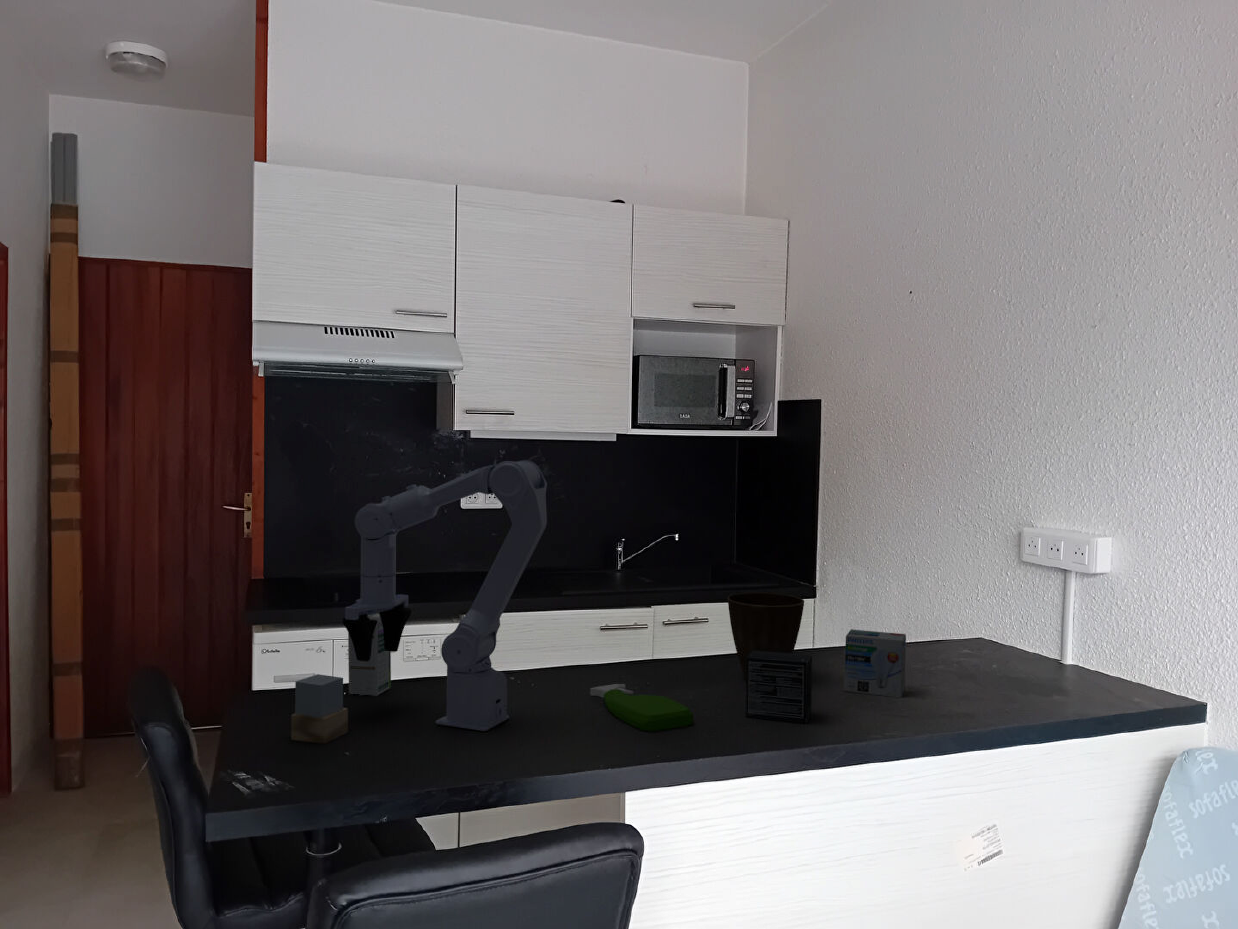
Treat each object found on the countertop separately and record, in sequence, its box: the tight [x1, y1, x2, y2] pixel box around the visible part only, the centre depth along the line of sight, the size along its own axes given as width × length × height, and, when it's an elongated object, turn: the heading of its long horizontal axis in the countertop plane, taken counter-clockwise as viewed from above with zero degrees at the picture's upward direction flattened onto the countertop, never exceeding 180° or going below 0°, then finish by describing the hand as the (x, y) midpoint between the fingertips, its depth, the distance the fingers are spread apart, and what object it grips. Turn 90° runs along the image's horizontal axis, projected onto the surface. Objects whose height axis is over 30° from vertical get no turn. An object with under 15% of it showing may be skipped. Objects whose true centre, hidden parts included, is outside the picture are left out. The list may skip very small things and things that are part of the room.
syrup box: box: [347, 613, 392, 697], centre depth 169 cm, size 6×6×14 cm
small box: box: [745, 651, 813, 724], centre depth 158 cm, size 11×6×10 cm, turn 71°
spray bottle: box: [589, 683, 694, 733], centre depth 160 cm, size 3×11×24 cm
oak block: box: [290, 707, 349, 745], centre depth 144 cm, size 6×6×4 cm
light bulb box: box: [843, 628, 907, 699], centre depth 175 cm, size 11×7×11 cm, turn 68°
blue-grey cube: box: [294, 673, 344, 718], centre depth 144 cm, size 5×5×5 cm
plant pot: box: [727, 592, 805, 680], centre depth 182 cm, size 15×15×16 cm
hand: (377, 655), depth 155 cm, fingers open, 7 cm apart
